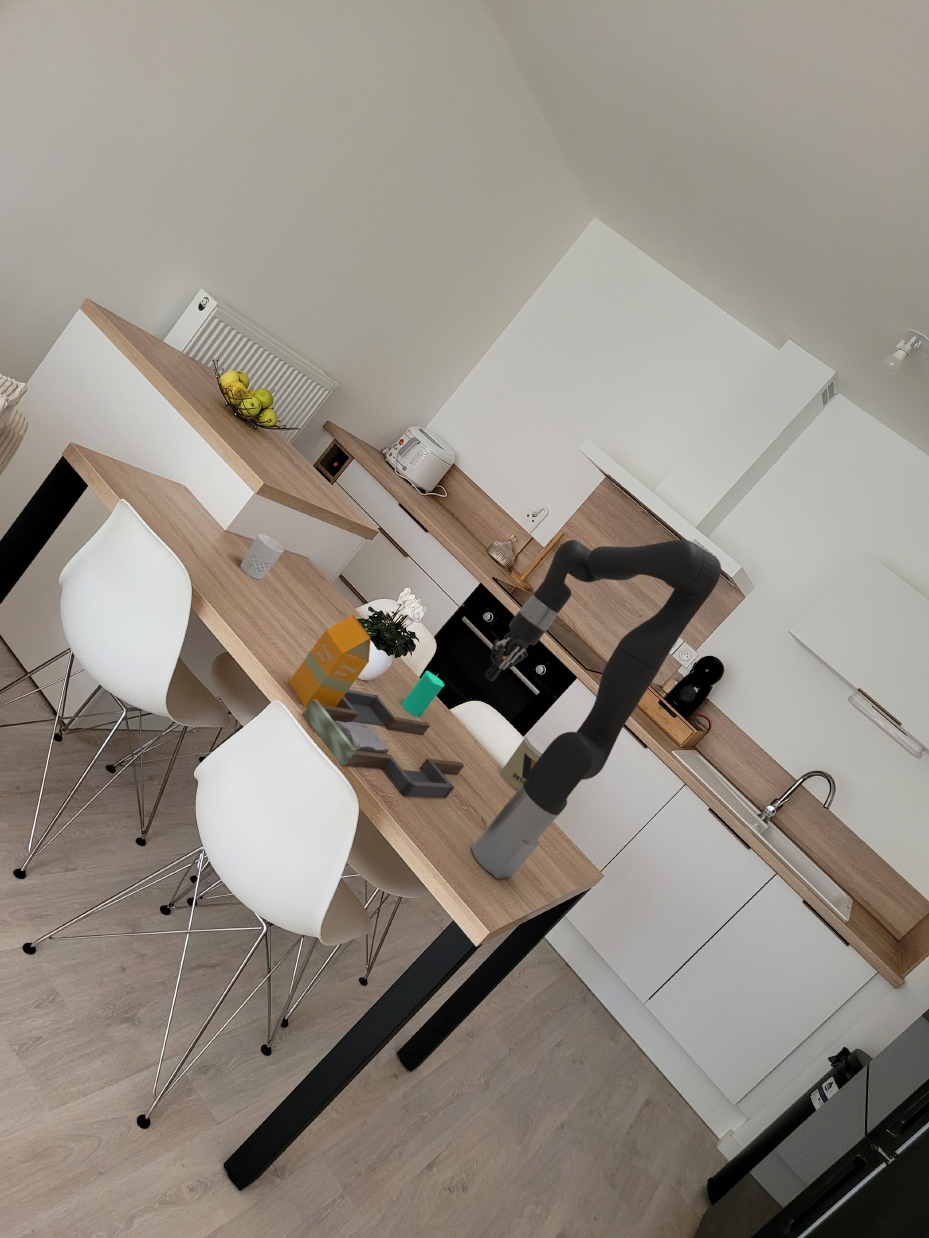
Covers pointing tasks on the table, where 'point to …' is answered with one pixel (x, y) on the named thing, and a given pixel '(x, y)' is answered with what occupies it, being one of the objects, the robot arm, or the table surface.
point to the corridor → (347, 755)
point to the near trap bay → (418, 780)
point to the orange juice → (333, 664)
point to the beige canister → (523, 761)
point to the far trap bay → (366, 708)
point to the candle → (422, 694)
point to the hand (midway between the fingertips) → (488, 678)
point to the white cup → (261, 557)
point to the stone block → (362, 737)
